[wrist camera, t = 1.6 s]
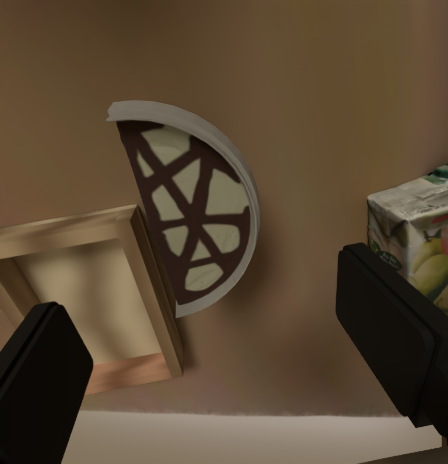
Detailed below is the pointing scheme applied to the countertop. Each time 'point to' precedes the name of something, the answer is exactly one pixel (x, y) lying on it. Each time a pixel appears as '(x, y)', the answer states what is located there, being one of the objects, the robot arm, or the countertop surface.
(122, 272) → the wooden tray
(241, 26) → the countertop surface
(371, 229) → the juice carton
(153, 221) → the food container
